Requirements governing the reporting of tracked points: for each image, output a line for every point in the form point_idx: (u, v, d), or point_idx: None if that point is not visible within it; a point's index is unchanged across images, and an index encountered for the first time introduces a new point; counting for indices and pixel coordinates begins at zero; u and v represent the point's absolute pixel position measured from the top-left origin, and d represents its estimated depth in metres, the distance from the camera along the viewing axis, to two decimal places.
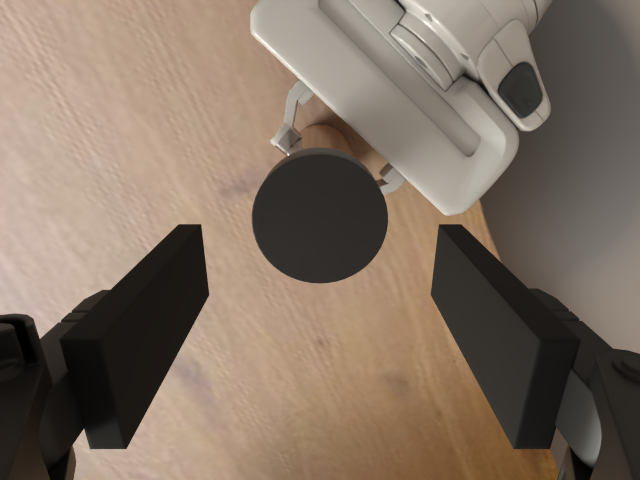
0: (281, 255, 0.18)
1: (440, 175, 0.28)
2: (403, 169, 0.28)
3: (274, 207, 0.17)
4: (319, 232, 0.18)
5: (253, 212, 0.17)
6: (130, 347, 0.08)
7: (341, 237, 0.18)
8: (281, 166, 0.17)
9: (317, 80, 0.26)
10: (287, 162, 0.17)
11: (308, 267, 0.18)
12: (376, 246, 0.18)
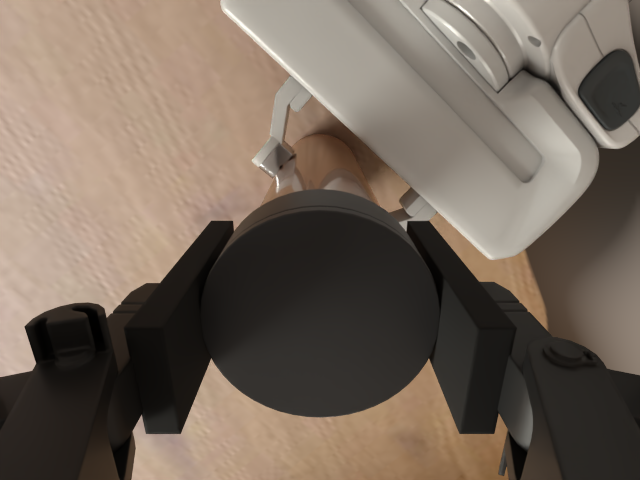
0: (254, 376, 0.11)
1: (485, 207, 0.20)
2: (435, 199, 0.20)
3: (239, 301, 0.10)
4: (319, 340, 0.10)
5: (202, 309, 0.10)
6: (183, 336, 0.09)
7: (359, 348, 0.10)
8: (249, 232, 0.09)
9: (316, 77, 0.18)
10: (260, 224, 0.09)
11: (300, 394, 0.11)
12: (418, 362, 0.10)
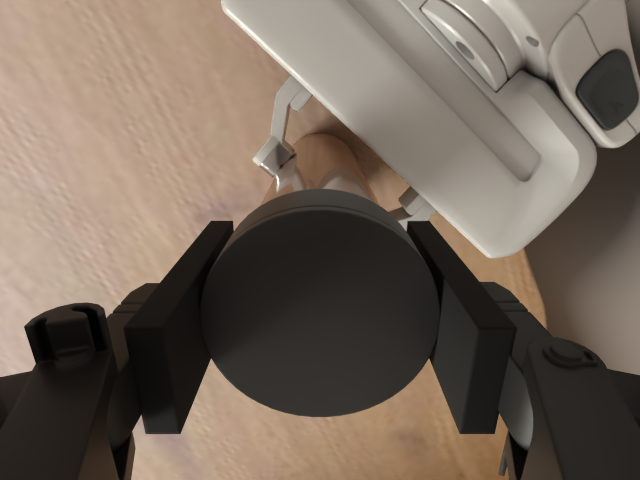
0: (408, 345, 0.10)
1: (484, 206, 0.20)
2: (434, 198, 0.20)
3: (337, 390, 0.11)
4: (335, 317, 0.10)
5: (363, 408, 0.11)
6: (182, 336, 0.09)
7: (321, 282, 0.09)
8: (275, 409, 0.11)
9: (316, 76, 0.18)
10: (266, 403, 0.11)
11: (406, 299, 0.10)
12: (299, 220, 0.09)
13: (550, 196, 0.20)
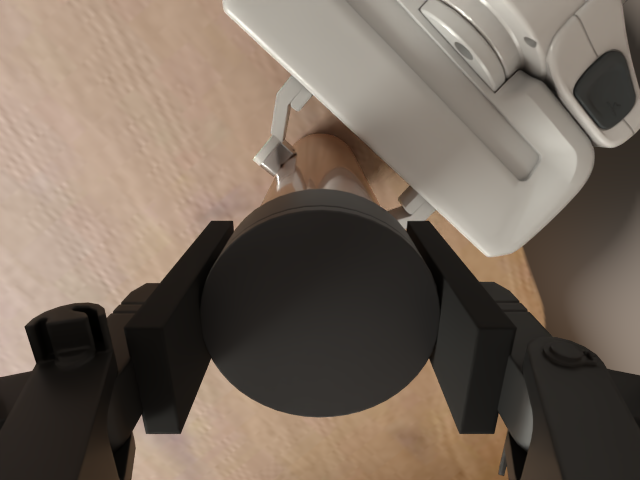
0: (288, 242, 0.09)
1: (483, 205, 0.21)
2: (433, 197, 0.21)
3: (381, 271, 0.09)
4: (303, 319, 0.10)
5: (390, 233, 0.09)
6: (183, 336, 0.09)
7: (280, 346, 0.10)
8: (439, 309, 0.10)
9: (316, 77, 0.18)
10: (438, 318, 0.10)
11: (245, 276, 0.09)
12: (243, 386, 0.11)
13: (548, 195, 0.20)
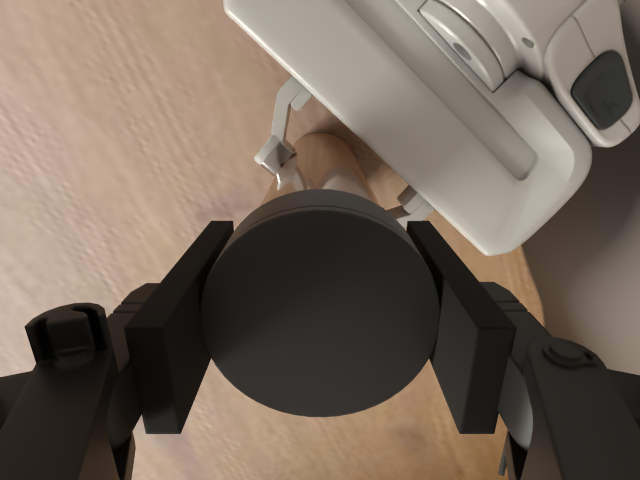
0: (264, 383, 0.11)
1: (481, 204, 0.21)
2: (432, 197, 0.21)
3: (236, 312, 0.10)
4: (322, 340, 0.10)
5: (202, 325, 0.10)
6: (183, 336, 0.09)
7: (362, 342, 0.10)
8: (233, 243, 0.09)
9: (316, 77, 0.19)
10: (243, 234, 0.09)
11: (313, 395, 0.11)
12: (425, 349, 0.10)
13: (546, 194, 0.20)
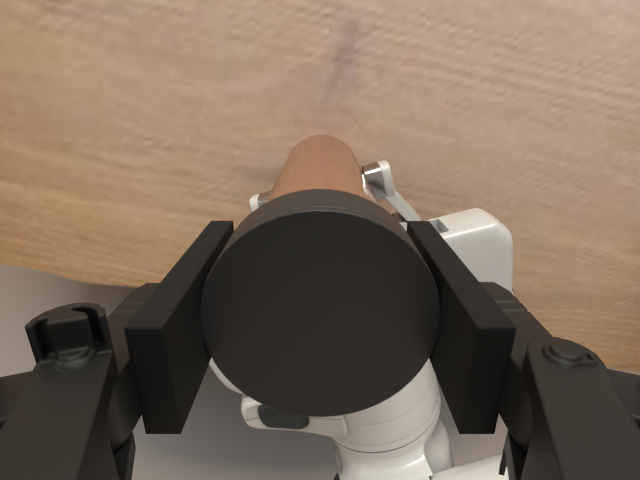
0: (264, 383, 0.11)
1: None
2: None
3: (236, 312, 0.10)
4: (322, 340, 0.10)
5: (202, 324, 0.10)
6: (183, 336, 0.09)
7: (362, 342, 0.10)
8: (234, 243, 0.09)
9: None
10: (243, 234, 0.09)
11: (313, 395, 0.11)
12: (425, 348, 0.10)
13: None
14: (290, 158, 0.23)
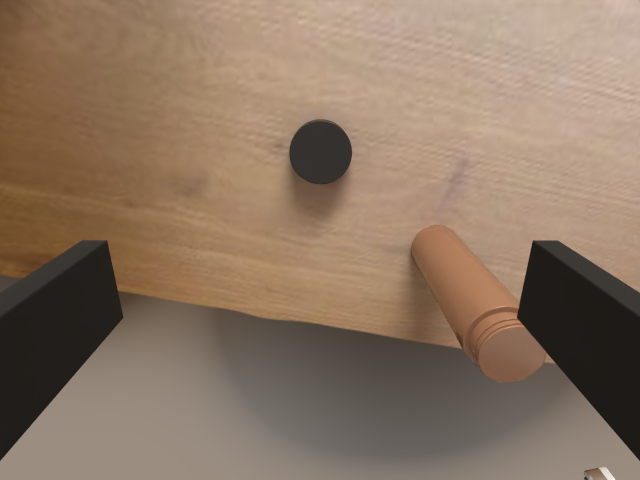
0: (305, 172, 0.39)
1: None
2: None
3: (299, 149, 0.38)
4: (321, 158, 0.39)
5: (290, 153, 0.38)
6: None
7: (331, 158, 0.39)
8: (299, 129, 0.38)
9: None
10: (302, 127, 0.38)
11: (319, 176, 0.39)
12: (348, 160, 0.39)
13: None
14: (435, 253, 0.38)
